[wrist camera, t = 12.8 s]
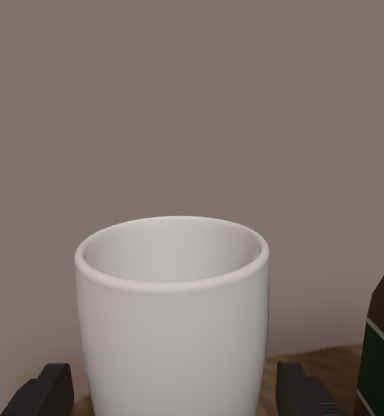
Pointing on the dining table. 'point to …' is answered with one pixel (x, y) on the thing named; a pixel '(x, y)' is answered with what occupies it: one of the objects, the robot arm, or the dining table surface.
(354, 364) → the dining table surface
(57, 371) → the robot arm
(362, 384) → the beer bottle
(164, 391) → the drinking glass
